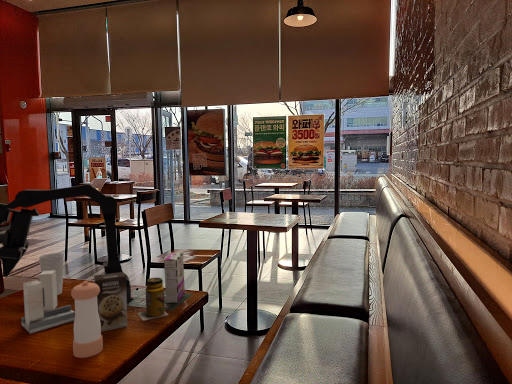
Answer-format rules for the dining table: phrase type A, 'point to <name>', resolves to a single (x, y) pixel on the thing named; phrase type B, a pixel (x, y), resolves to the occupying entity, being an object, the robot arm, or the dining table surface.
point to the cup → (53, 267)
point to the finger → (49, 289)
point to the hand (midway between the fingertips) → (8, 273)
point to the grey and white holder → (35, 313)
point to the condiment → (154, 300)
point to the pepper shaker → (86, 321)
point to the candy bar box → (174, 277)
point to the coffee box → (112, 300)
